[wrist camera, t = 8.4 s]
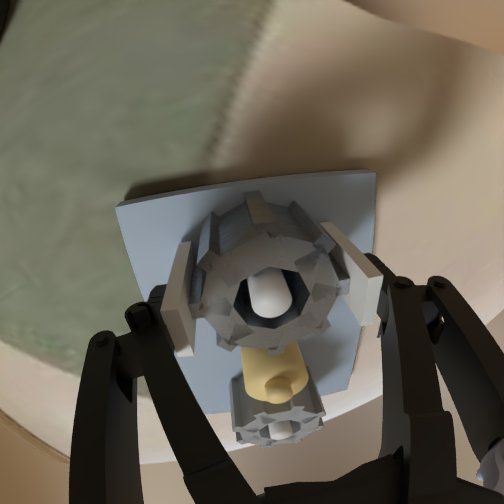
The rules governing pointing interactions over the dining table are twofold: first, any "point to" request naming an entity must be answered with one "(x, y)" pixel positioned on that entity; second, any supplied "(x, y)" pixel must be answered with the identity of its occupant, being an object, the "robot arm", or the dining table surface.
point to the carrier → (258, 301)
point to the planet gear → (256, 259)
